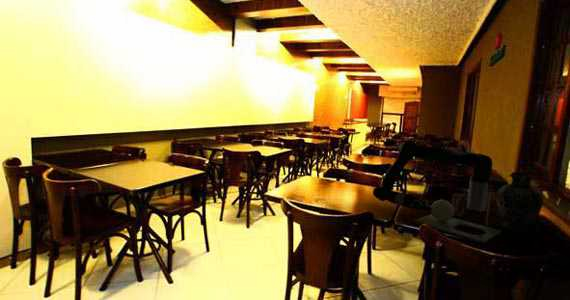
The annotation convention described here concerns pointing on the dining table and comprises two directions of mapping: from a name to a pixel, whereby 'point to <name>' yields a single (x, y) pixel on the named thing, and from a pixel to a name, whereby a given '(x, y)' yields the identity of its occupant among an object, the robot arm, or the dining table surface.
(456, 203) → the soda can
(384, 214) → the dining table surface
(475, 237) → the putting board
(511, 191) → the decorative vase
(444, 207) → the ball
